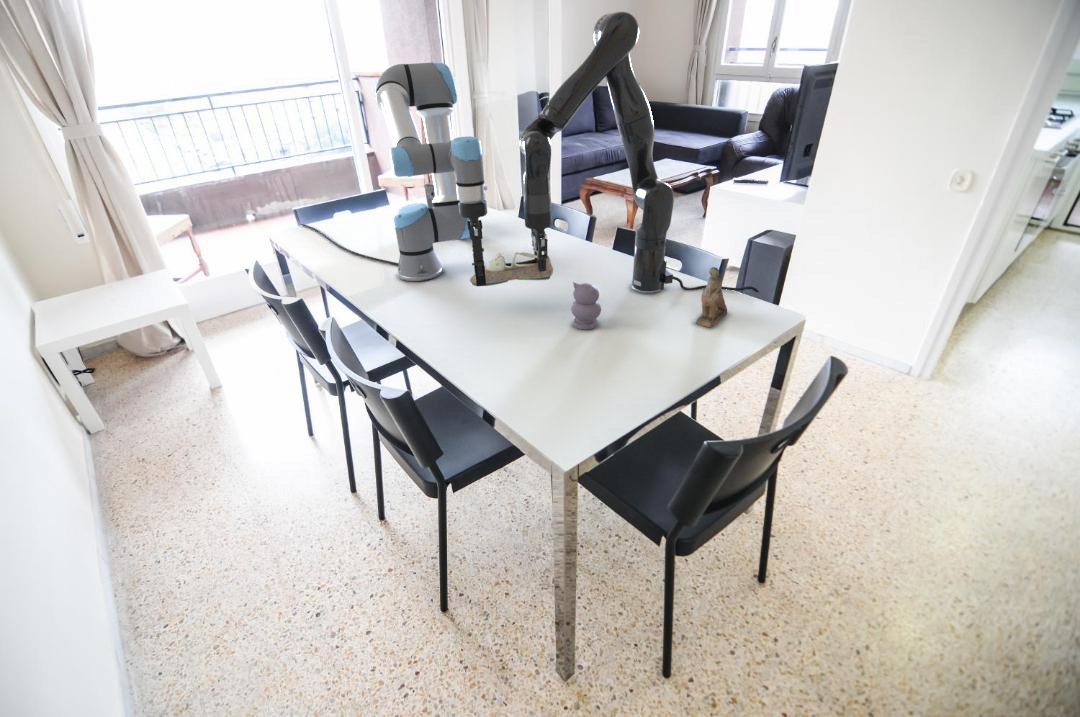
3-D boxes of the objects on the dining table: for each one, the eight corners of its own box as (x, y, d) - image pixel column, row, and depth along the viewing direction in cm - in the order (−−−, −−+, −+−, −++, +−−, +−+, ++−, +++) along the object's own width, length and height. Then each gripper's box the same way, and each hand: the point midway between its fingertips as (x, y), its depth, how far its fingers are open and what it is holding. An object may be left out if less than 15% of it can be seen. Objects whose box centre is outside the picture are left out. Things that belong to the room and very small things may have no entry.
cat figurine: (606, 323, 139) (608, 283, 132) (589, 334, 134) (589, 293, 128) (582, 314, 144) (583, 276, 138) (564, 324, 139) (564, 285, 133)
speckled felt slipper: (469, 279, 149) (465, 252, 144) (549, 270, 152) (548, 244, 147) (470, 290, 142) (467, 263, 137) (555, 280, 145) (554, 253, 140)
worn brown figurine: (709, 335, 136) (713, 280, 124) (691, 329, 139) (693, 274, 128) (730, 313, 142) (736, 258, 130) (712, 307, 145) (716, 253, 133)
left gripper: (488, 209, 125) (496, 292, 137) (483, 190, 142) (490, 265, 154) (458, 211, 124) (468, 295, 136) (457, 192, 141) (466, 268, 153)
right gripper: (556, 214, 131) (557, 274, 140) (546, 201, 143) (548, 257, 152) (528, 217, 130) (531, 277, 139) (520, 203, 142) (524, 260, 151)
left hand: (480, 279), depth 145 cm, fingers open, 8 cm apart
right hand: (540, 266), depth 145 cm, fingers closed on speckled felt slipper, 6 cm apart
